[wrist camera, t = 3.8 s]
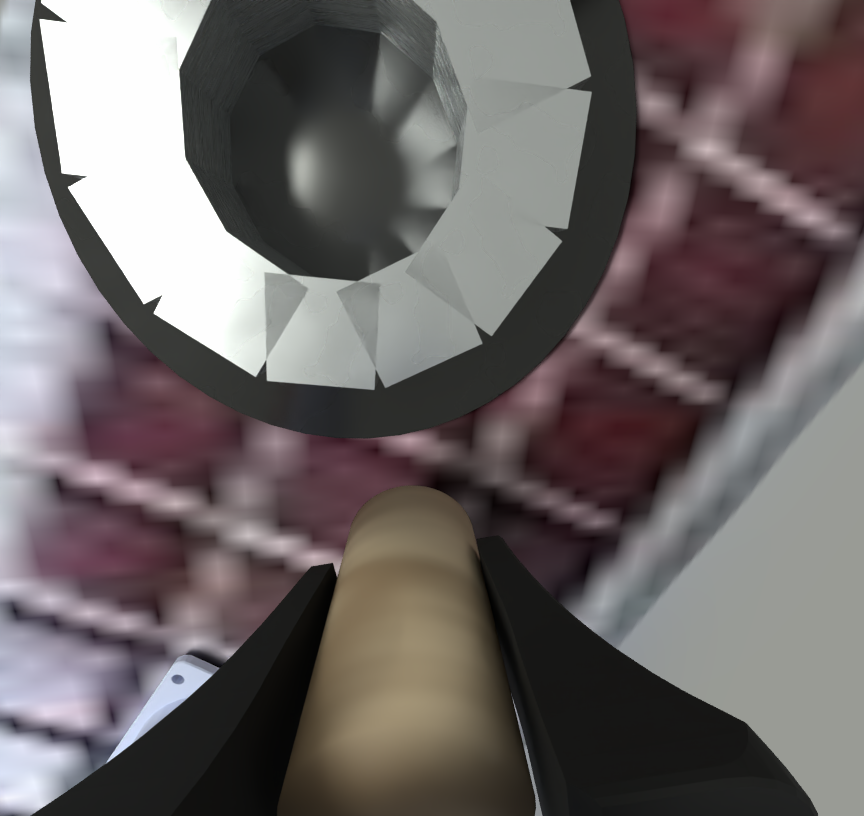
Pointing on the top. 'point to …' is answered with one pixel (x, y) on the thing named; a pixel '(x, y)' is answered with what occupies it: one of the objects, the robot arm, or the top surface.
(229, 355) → the rosette
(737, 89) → the top surface
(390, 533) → the peg
